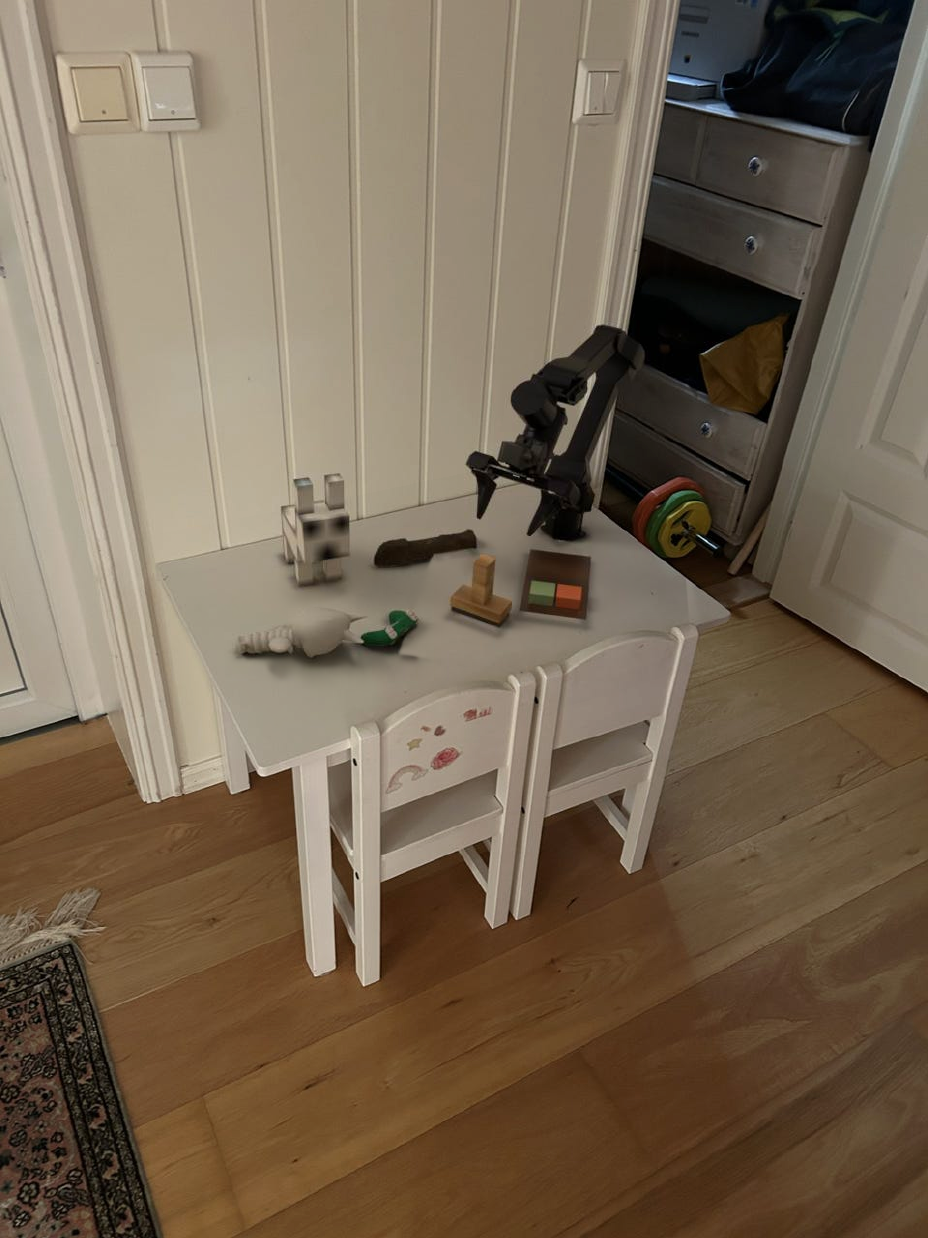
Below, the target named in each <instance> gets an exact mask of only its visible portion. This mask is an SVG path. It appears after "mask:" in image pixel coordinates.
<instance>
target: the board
mask: <svg viewBox="0 0 928 1238" xmlns="http://www.w3.org/2000/svg"><path fill="white" fill-rule="evenodd" d="M591 561H592V556H588V555H579V554H574V553H573V554H572V553H564V552H555V551H548V550H542V549H541V550H540V549H533V548H531V549H529V555H528V560H527V564H526V571H525V576H524V583H523V587H522V591H521V592H522V594H521V599H520V603H519V610H518V611H519V612H523V613H532V614H540V615H548V616H553V617H561V618H570V619H577V620H583V621H584V620H585V621H586V620H587V618H588V617H587V614H588V603H589V590H590V589H589V588H590V576H591V574H590V573H591ZM532 581H539V582H547V583H555V592H554V599H553V606H546V605H538V604H531V603H529V594H530V588H531V582H532ZM558 584H562V585H570V586H578V587H582V590H581V601H580V608H579V610H577V609H569V608H561V607H555V602H556V594H557V587H558Z"/></svg>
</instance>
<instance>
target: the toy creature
mask: <svg viewBox="0 0 928 1238" xmlns="http://www.w3.org/2000/svg"><path fill="white" fill-rule="evenodd" d="M369 617H370V616H369V615H359V614H357V615H356V614H348V613H347V612H345V611H342V610H337V609H333V608H332V609H331V608H324V607H314V608H307V609H305V610H303V611H301V612H299V613H297V614H296V615H295V616H294V617H293V619H292V621H291V623H290V625H281V626H278V627H276V628H274V629H272V630H270V631H266V630H265V631H262V632H259V631H257V632H254V633H252V632H249V633H247V634H246V635H243V636H237V637H236V649H237V652H238V653H239V654H240V655H243V654H245V653H249V654H255V653H257V654H261V653H263V652H274V653H280V654H281V653H286V652H289V654H292V653H293V651H294V649H293V645H295V647H296V648H299V649H301V648H303V651H304V653H305V654H306V656H307V657H308V658H311V659H313V658H314V657H315V656H318V655H320V656H321V655H324V654H328V653H329V652H332V651H333V650H334V649H336V648H337V647H338V646H339V645H340V644H341V643H342V641H345V642H350V643H356V644H362V643H363V642H364V641H363V640H362V639H361V637H359V636H358V635H356V634H355V633H354V632H352V631H351V630H350V627H351V624H352V623H354V622H357V621H359V620H362V619H367V618H369Z"/></svg>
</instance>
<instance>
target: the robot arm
mask: <svg viewBox="0 0 928 1238" xmlns="http://www.w3.org/2000/svg"><path fill="white" fill-rule="evenodd" d="M645 357H646V353H645V350H644V348H643V346H642V345H641V343H640V342H638V341H636V340H635V339H634V338H632V337H631V336H629V335H628V333H627V332H626V330H623V329H622V328H621V327H616V326H612V325H607V324H603V323H602V324H597V325H596V326H595V327H594V330H593V332H592V334H590V336H588V338H587V339H586V340H584V341H583V342H582V343H581V344H580V345H579V346H578V347H577V348H576V349H575V350H574V351H573V352H571V353H570V355H568V356H563V357H556V358H554V359H552V360H551V361H548V362H547V363H546V364H544V366H542V368H541V369H539V370H538V371H537V373H532V375H531V377H530V379H528V380H525V381H522V382H520V383H519V384H518V385H517V386H516V387H515V388H513V390H512V392H511V394H510V405H511V407H512V409H513V410H514V412H515V414H517V416H518V417H519V418H520V419H521V421H522V422H523V423H524V425H525V426H524V428H523V431H522V433H521V434H520V433H518V435H517V436H516V438H515V440H514V441H510V440H509V441H506V440H501V444H500V447H499V451H498V454H497V455H498V456H497V459H496V458H495V457H494V456H493V455H490V454H487V453H484V452H480V451H477V450H474V451H473V452H471V453H470V454H469V455H468V457H467V459H466V461H465V466H466V467H467V468H468V469H469V470H470V473H471V474H472V475H473V476H474V477H475V480H476V484H477V502H476V503H477V504H476V519H477V520H482V519H483V516H484V515H485V514H486V511H487V509H488V506H489V504H490V502H491V500H492V498H493V495H494V493H495V490H496V488H497V486H498V484H497V482H495V480H497V479H499V478H503V479H506V480H509V481H512V482H515V483H519V484H522V485H525V486H528V487H531V488H534V489H538V490H540V501H539V504H538V506H537V507H536V510H535V513H534V515H533V516H532V519H531V521H530V523H529V525H528V528H527V531H526V536H527V537H532V536H533V535H534V534H535V533H536V532H537V531H538V529H540V530H541V531H542V532H544V533H545V534H546V535H547V536H549V537H550V538H552V539H553V540H555V541H562V542H570V541H575V540H578V539H580V538H584V537H586V536H587V532H586V531H584V530H583V529H582V526H583V520H584V514H585V513H591V512H592V508H593V504H594V502H595V497H596V494H595V492H594V490H593V488H592V486H591V483H592V480H593V479H592V473H591V467H590V462H591V460H592V457H593V454H594V452H595V450H596V447H597V445H598V443H599V440H600V438H601V435H602V433H603V430H604V428H605V425H606V423H607V421H608V419H609V416H610V413H611V411H612V409H613V406H614V404H615V401H616V400H617V397H618V395H619V392H620V391H622V390H623V389H624V388H626V387H627V386H629V385H630V384H631V383H632V382H633V380H634V379H635V377H636V375H637V373H638V371H640V370H641V369H642V366H643V364H644V362H645ZM594 374H595V380H594V383H593V385H592V387H591V390H590V392H589V395H588V398H587V400H586V402H585V405H584V407H583V410H582V412H581V414H580V417H579V419H578V421H577V424H576V425H575V429H574V431H573V434H572V436H571V438H570V441H569V442H568V445H567V447H566V450H565V451H564V452H563V453H561V454H555V453H554V450H555V448H556V445H557V443H558V440H559V439H560V436H561V433H562V431H563V428H564V426H567V425H568V422H569V417H568V416H567V409H566V408H565V407H562V406H560V405H559V404H558V403H561V404H565V405H568V406H573V407H574V406H576V405H578V403H580V401H582V400H583V399H584V398H585V396H586V394H587V393H588V389H589V387H588V380H589V379H590V378H591V377H592V376H593V375H594ZM549 462H550V463H549ZM503 464H505V465H503ZM506 465H508V466H506ZM547 467H548V468H547Z"/></svg>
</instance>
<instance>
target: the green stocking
mask: <svg viewBox="0 0 928 1238" xmlns="http://www.w3.org/2000/svg"><path fill="white" fill-rule="evenodd" d="M388 620H389V622H391V623H392V624H391V625H390V624H388V625H387V626H386V627H385V628H383V629H380V630H374V631H367V632H365V633H363V634H361V635H360V638H361V639H362V640H363V641H364V642H363V643H361V644H363V645H365V646H369V647H385V646H387V647H388V646H392V645H393V644H395V643H396V640H397V639H399V637H402V636H404V635H405V634H406V633H407V631H408V630H409V629H411V627H413V626H415V624H417V622H418V621H419V618H418V615H417V613H415V611H414V610H413V609H411V608H408V609H407V610H406V611H404V610H397V609H395V610H392V611H390V612H389V613H388Z"/></svg>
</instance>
